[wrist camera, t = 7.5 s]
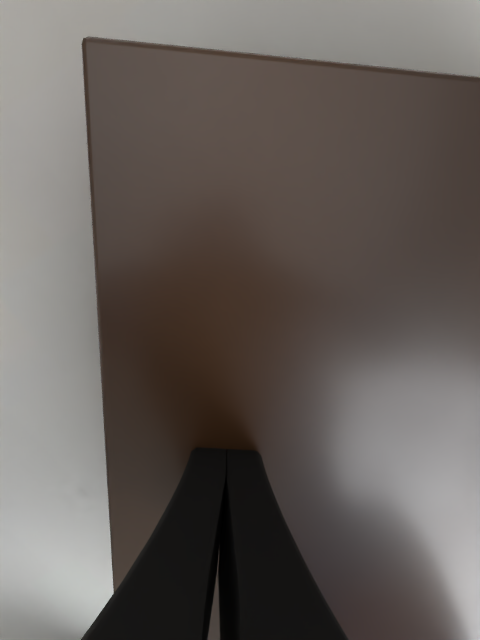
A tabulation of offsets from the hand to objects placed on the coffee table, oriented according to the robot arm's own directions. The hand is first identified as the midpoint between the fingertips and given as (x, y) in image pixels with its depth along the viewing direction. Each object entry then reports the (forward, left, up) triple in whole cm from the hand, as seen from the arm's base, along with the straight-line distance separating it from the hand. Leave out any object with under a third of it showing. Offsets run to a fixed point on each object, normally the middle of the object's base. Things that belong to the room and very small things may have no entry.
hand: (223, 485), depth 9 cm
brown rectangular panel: (0, -3, -1) cm, 3 cm away
